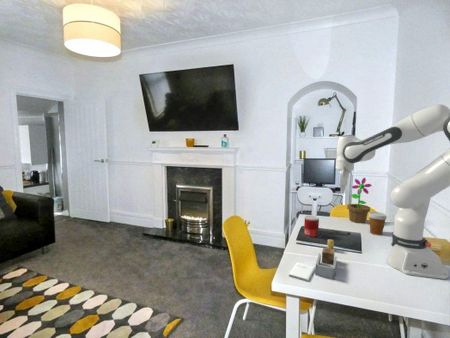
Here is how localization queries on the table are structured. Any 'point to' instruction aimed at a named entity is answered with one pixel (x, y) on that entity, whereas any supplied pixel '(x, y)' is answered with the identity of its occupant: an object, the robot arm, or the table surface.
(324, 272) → the lane
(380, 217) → the disposable coffee cup
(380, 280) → the table surface
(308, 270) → the external hard drive
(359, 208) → the flowerpot
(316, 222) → the canned food
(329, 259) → the towed block
